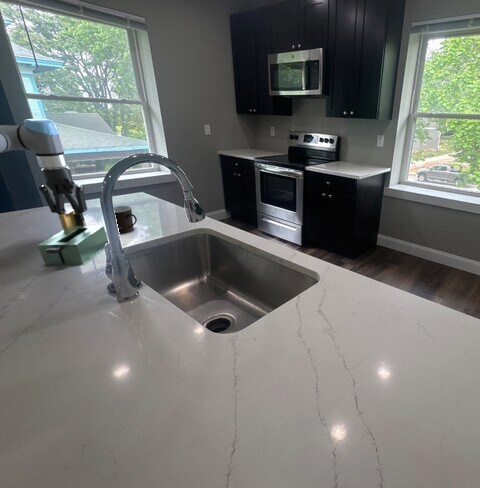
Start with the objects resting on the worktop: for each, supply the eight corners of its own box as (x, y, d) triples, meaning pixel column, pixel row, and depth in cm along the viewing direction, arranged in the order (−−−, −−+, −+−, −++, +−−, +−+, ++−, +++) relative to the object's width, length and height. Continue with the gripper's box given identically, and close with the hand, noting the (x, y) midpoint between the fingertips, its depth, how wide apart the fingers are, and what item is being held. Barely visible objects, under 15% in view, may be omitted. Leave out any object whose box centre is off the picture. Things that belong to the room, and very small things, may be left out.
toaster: (46, 267, 95) (37, 245, 92) (77, 246, 110) (70, 226, 106) (83, 266, 97) (76, 244, 93) (109, 245, 111) (103, 225, 108)
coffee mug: (109, 231, 123) (102, 208, 118) (132, 226, 128) (127, 204, 124) (118, 240, 116) (111, 216, 111) (142, 234, 121) (136, 211, 117)
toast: (68, 243, 110) (58, 215, 105) (84, 233, 119) (75, 207, 114) (73, 243, 110) (63, 215, 106) (88, 233, 119) (80, 206, 114)
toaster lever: (47, 253, 91) (45, 250, 90) (52, 250, 93) (51, 246, 92) (57, 253, 91) (56, 249, 91) (63, 249, 93) (61, 246, 93)
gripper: (87, 165, 108) (105, 225, 118) (36, 165, 105) (58, 226, 115) (74, 169, 101) (94, 233, 111) (19, 169, 99) (45, 234, 109)
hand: (76, 229), depth 113 cm, fingers open, 3 cm apart
